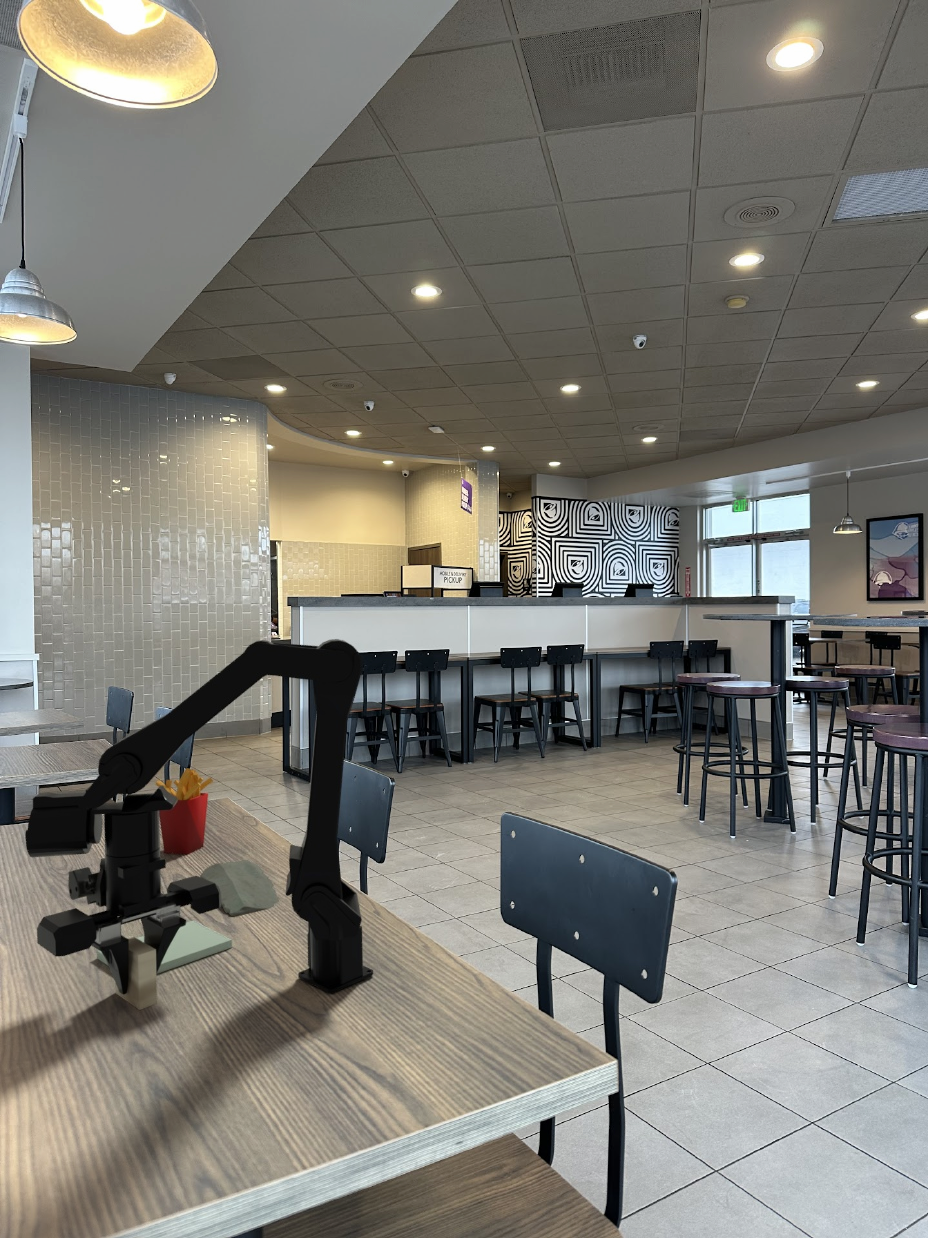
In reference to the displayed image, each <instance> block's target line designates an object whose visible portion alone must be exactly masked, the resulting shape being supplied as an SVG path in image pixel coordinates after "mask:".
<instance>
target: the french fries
mask: <svg viewBox="0 0 928 1238" xmlns="http://www.w3.org/2000/svg"><path fill="white" fill-rule="evenodd" d="M213 781H214V779H213V778H212V776H211V777H208V778H207V779H206V780H204V778H203V777H201V776H200V774H199V772H197V771H196V770H195V769H193V768H192V769H191V768H187V767H186V768H185V770H184V772H183V773H182V775H181V777H180V779H179V780H177V779H176V780H174V781H173V780H171V779H166V780H165V783H164V782H162V781H161V780H160V779H159V780H157V781H156V782H155V786H157V787H159V786H161V785H163V786H164V787H165V789H166V790H167V791H168V792H169V793H171V794H172V795H173V796H175V797H177V799H178V801H177V803H176V804H175V806H174V807H173V808H172V809H171V810H162V811H159V826H160V831H161V838H162V845H163V853H164V854H173V855H174V854H175V855H184V854H185V856H186V855H187V856H188V855H190V854H192V853H194V852H196V851H199V850H200V849H202V848H201V847H203V848H204V843H205V833H206V822H207V821H206V820H207V811H208V800H209V793H208V792H201V791H203V790H204V789H206V788H207V786H209V785H210V784H212V783H213ZM172 783H173V784H174V785H175V786H176V791H175V790H174V789H173V788H172V785H173V784H172ZM199 848H200V849H199ZM195 850H196V851H195Z"/></svg>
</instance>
